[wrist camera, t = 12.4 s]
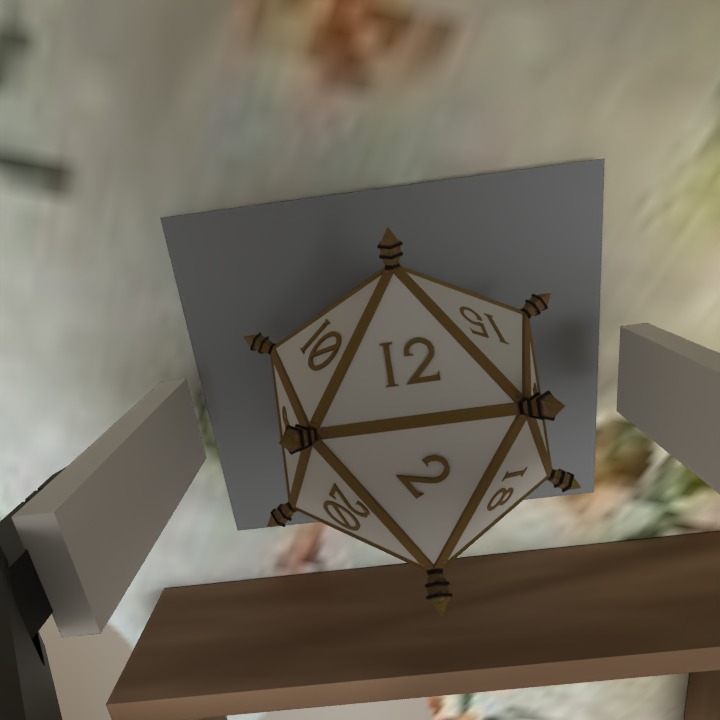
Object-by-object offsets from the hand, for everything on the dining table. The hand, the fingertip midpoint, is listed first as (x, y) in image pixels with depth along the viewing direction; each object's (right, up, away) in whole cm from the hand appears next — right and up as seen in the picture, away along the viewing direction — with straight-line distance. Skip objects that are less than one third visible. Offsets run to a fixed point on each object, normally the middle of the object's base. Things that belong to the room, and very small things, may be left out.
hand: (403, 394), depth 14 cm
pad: (0, +1, +3) cm, 3 cm away
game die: (0, +1, +2) cm, 3 cm away
